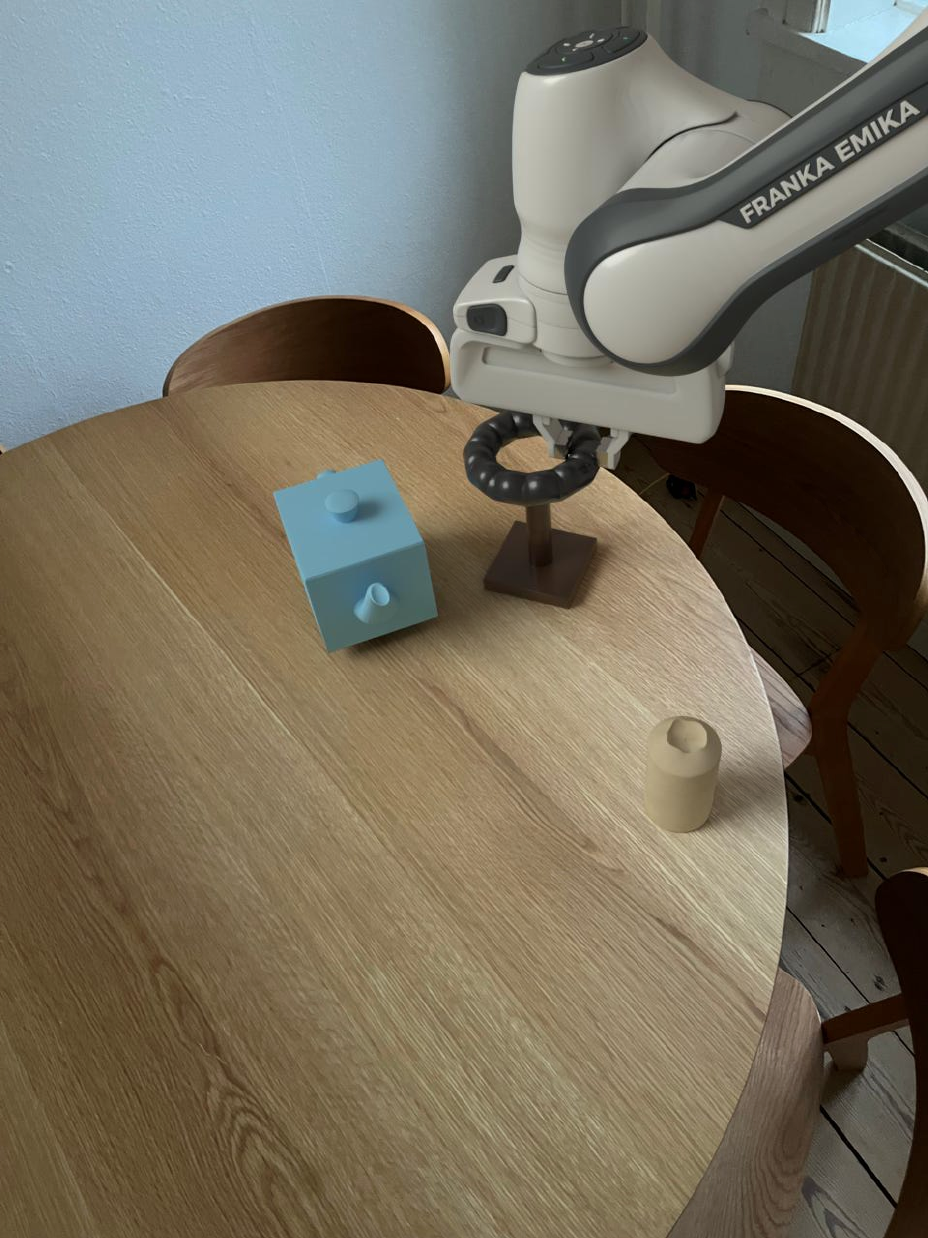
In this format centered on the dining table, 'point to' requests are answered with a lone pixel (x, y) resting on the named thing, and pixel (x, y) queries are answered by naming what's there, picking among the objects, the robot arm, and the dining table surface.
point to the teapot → (357, 554)
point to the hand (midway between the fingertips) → (583, 458)
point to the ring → (534, 484)
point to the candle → (681, 773)
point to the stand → (540, 560)
